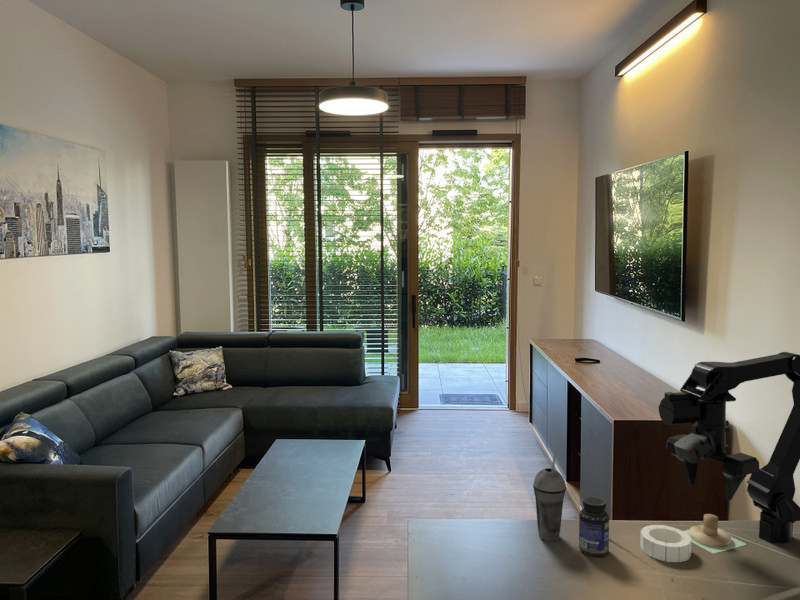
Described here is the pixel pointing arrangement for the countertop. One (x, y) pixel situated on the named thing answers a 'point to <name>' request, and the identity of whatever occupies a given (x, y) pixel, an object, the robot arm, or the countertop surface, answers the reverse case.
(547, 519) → the beverage cup
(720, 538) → the lid
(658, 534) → the white faceted ring
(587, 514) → the pill bottle
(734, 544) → the mat
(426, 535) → the countertop surface
